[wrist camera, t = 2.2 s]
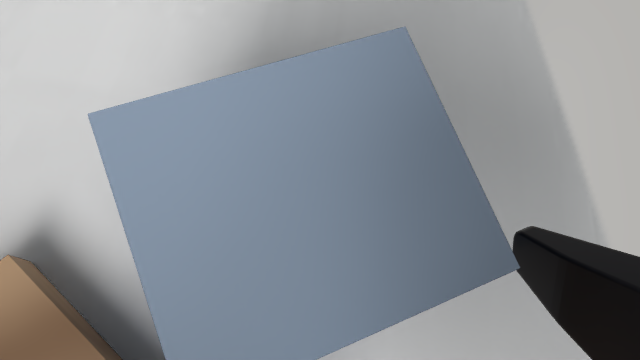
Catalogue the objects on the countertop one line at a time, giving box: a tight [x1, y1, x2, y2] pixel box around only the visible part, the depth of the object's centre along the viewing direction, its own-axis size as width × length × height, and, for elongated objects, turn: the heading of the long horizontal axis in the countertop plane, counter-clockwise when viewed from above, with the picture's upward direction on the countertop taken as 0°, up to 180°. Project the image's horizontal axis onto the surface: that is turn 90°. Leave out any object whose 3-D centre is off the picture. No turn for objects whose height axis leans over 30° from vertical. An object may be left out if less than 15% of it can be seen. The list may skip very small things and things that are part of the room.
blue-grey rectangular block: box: [88, 27, 520, 360], centre depth 14 cm, size 6×5×12 cm
